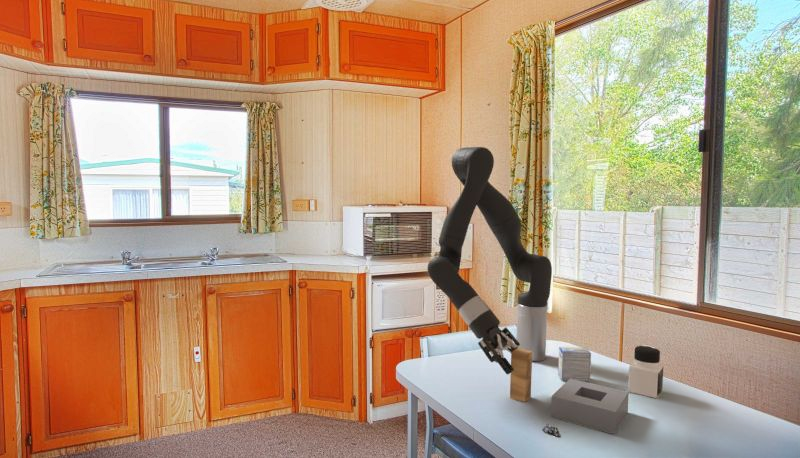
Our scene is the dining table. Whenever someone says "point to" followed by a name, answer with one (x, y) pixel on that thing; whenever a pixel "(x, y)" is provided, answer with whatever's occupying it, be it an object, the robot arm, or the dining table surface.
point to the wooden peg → (521, 375)
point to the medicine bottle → (646, 372)
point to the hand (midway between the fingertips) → (517, 367)
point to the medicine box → (574, 364)
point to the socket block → (590, 405)
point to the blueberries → (551, 430)
